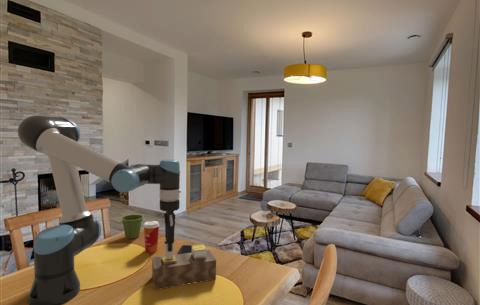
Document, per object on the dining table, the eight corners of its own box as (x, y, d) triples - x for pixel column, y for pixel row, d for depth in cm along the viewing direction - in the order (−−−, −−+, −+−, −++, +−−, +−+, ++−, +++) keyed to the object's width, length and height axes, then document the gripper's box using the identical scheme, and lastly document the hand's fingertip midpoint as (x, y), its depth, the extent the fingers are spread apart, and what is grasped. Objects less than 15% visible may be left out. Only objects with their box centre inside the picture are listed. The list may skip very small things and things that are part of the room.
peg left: (162, 279, 104) (163, 262, 104) (161, 273, 109) (161, 256, 108) (176, 277, 106) (176, 260, 106) (174, 271, 111) (174, 255, 110)
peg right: (193, 267, 108) (194, 250, 108) (191, 262, 113) (191, 245, 113) (206, 265, 110) (206, 249, 110) (203, 260, 115) (203, 244, 114)
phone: (197, 245, 140) (191, 258, 125) (197, 247, 140) (191, 261, 125) (182, 245, 140) (174, 258, 125) (182, 247, 141) (174, 260, 126)
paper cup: (142, 248, 136) (142, 221, 136) (158, 246, 140) (158, 219, 139) (143, 255, 129) (144, 226, 129) (160, 252, 133) (160, 224, 132)
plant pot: (147, 234, 156) (147, 215, 155) (134, 242, 144) (134, 221, 144) (130, 231, 159) (130, 213, 158) (116, 239, 148) (116, 219, 147)
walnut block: (153, 289, 101) (153, 269, 100) (152, 276, 110) (152, 257, 110) (215, 279, 109) (216, 260, 109) (209, 267, 119) (209, 250, 118)
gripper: (182, 202, 101) (181, 263, 102) (177, 195, 113) (176, 250, 114) (161, 204, 98) (161, 267, 100) (158, 196, 110) (158, 252, 112)
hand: (169, 257), depth 107 cm, fingers closed
